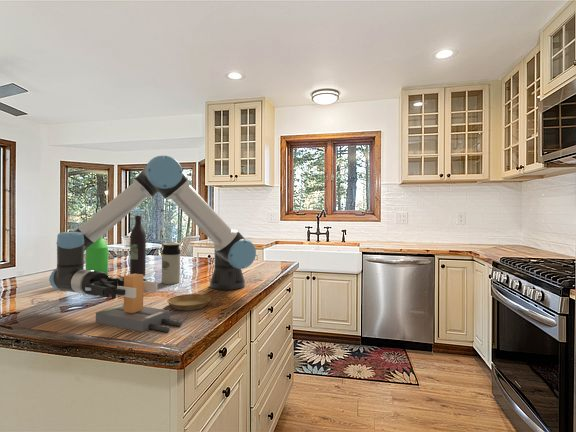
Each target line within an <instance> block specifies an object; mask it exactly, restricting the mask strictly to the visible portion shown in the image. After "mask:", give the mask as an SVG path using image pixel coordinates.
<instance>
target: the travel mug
mask: <svg viewBox="0 0 576 432" xmlns="http://www.w3.org/2000/svg"><path fill="white" fill-rule="evenodd" d="M180 244H181V243H180V242H162V246H163V248H162V249H161V284H164V285H175V284H178V283H180V281H181V249H180Z"/></svg>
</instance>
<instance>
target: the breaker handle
mask: <svg viewBox="0 0 576 432" xmlns="http://www.w3.org/2000/svg"><path fill="white" fill-rule="evenodd" d="M123 277H124V287H131V288H136V298H129V297H123V304H124V312H128V313H135V312H138V311H141V310H143V306H144V290H143V279H144V276H143V274H130V273H129V274H125V275H124V276H123Z"/></svg>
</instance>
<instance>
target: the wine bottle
mask: <svg viewBox="0 0 576 432" xmlns="http://www.w3.org/2000/svg"><path fill="white" fill-rule="evenodd" d="M134 219H135V222H134V227H133V228H132V230H131V232H130V237H129V238H130V239H129V240H130V241H129V242H130V243H129V245H130V246H129V275H130V274H143V277H145V276H146V261H147V260H146V255H147V254H146V251H147V247H146V246H147V244H146V243H147V242H146V241H147V240H146V239H147V238H146V236H147V235H146V232H145V230H144V228H143V225H142V216H141V215H135V216H134Z"/></svg>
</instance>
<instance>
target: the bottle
mask: <svg viewBox="0 0 576 432" xmlns="http://www.w3.org/2000/svg"><path fill="white" fill-rule="evenodd" d="M85 270H93V271H100V272H104V273H106V274H107V275H108V276H109V247H108V245H107V244H106V242H105V241H104V240H103V236H101V237H100V238H99V239H98V240H97V241H95V242H94V243H93V244H92V245H91V246H90V247H89V248H87V249H86V250H85Z"/></svg>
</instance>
